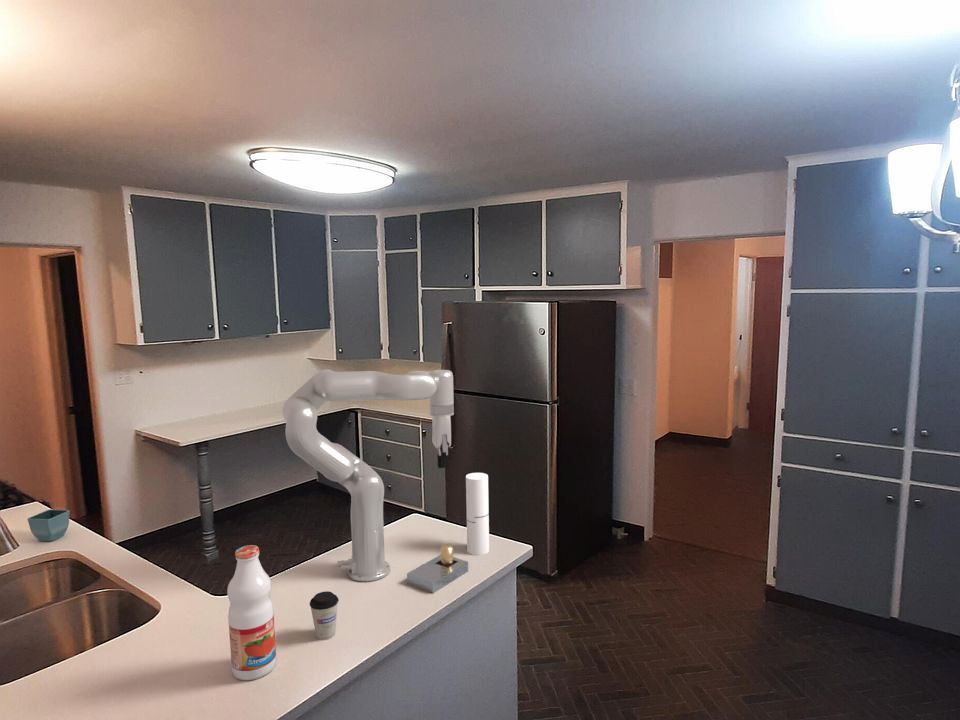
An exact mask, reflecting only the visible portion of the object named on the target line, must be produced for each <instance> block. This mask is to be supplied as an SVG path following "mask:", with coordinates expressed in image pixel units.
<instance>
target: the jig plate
mask: <svg viewBox="0 0 960 720" xmlns="http://www.w3.org/2000/svg"><path fill="white" fill-rule="evenodd" d="M468 572H469V562H468V561H467V560H463V559H461V558H458V557H454V556H453V565H452V566H450V567H448V568H447V567H444V566H441V554H439V555H438V556H435V557H434V558H432V559H430V560H429V561H426V562H425V563H424V564H421V565H419V566H418V567H416V568H415V569H412V570H411V571H409V572H407V573H406V583H407V585H408V584H409V585H410V586H413V587H415V588H418V589H421V590H423V591H426V592H429V593H431V594H435V593H437V592H438V591H440V590H441V589H443V588H444V587H446V586H447V585H449V584H450V583H451V584H452V582H454V581H455V580H457V579H458V578H460V577H462V576H463V575H465V574H466V573H468Z"/></svg>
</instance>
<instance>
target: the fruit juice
mask: <svg viewBox="0 0 960 720" xmlns="http://www.w3.org/2000/svg"><path fill="white" fill-rule="evenodd" d="M259 555H260V549H259V546H257V545H253V544H250V545H248V544H247V545H244V546H241V547H239V548H237V549H236V550H235V553H234V556H235V560H236V561H237V562H236V567H235V571H234V575H233V577H232V578H231V579H230V581H229V583H228V585H227V590H226V591H227V599H228V600H229V604H230V605H229V607H228V616H227V617H228V620H227V621H228V631H229V633H228V634H229V645H230V648H229V649H230V662H231V671H232V674H233V676H234V677H235V678H236V679H238V680H241V681H253V680H259V679H261V678H264V677H265V676H267V675H268V674H269V673H271V672H272V671H273V669H275V667H276V664H277V648H276V646H277V645H276V633H275V632H276V630H275V629H276V628H275V614H274V611H275V610H274V604H273V600H272V598H271V597H270V596H271V591H272V580H271V578H270V576H269V574H267V573H266V571H265V569H264V568H263V567H262V564H261V562H260V560H259Z"/></svg>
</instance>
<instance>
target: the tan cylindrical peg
mask: <svg viewBox="0 0 960 720" xmlns="http://www.w3.org/2000/svg"><path fill="white" fill-rule="evenodd" d="M440 555H441V566H444V567H447V568H448V567H450V566H452V565H453V557H454V545H453V544H451V543H444V544H441V545H440Z"/></svg>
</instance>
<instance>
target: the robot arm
mask: <svg viewBox="0 0 960 720" xmlns="http://www.w3.org/2000/svg"><path fill="white" fill-rule="evenodd" d="M427 399H428V400H429V415H430V416H431V417H432V421H431V422H432V425H431V427H432V429H431V432H432V434H431V436H432V437H431V440H432V441H431V442H432V444H433V446H434V447H435V448H436V449H437V456H436V457H437V468H439V469H444V468H445V469H446V468H449V448H450V447H451V446H452V421H451V416H454V414H455V407H454V406H455V405H454V403H455V401H454V400H455V399H454V375H453V372H452V370H449V369H435V370H428V371H427V370H411V371H408V372H407V373H406V374H393V373H392V374H391V373H385V372H382V371H375V370H363V371H361V370H358V371H334V370H332V369H328V368H327V369H326V368H325V369H321V370H319V371H318V372H316V373H315V374H313V376H311V377H310V378H309V379H308V380H307V381H306V382H305V383H304V384H303V385H302V386H301V387H299V388H298V389H297V390H295V392H294V393H293V394H291V396H289V397H288V398H287V399H286V400H285V402H284V404H283V406H282V410H281V412H282V417H283V419H284V420H285V438H286V442H287V445H288V447H289V448H290V450H291V451H292V452H293V453H294V454H295V455H296V456H297V457H299V458H300V459H302V460H303V461H304V462H306V463H307V464H308V466H309V465H310V467H312V468H314V469H315V470H316V471H318V472H319V473H320V474H322V475H323V476H324V477H325V478H326V479H328V480H329V481H332V482H335V483H336V482H337V483H338V484H340V485H341V486H343V487H344V488H345V489H347V491H348V492H349V494H350V496H351V498H350V501H351V502H350V528H351V529H350V530H351V549H352V550H351V557H350V558H348V559H345V560H337V561H336V564H337V568H340V570H341V571H345V570H347V575H348V577H349V578H350V579H352V580H353V581H357V582H373V581H378V580H380V579H382V578H384V577H386V576H387V575H388V574H390V572H391V565H390V563H389V562H387V561H386V559H385V558H386V557H385V534H384V533H385V530H384V526H385V525H384V499H385V498H384V497H385V485H384V482H383V480H382V478H381V476H380V475H379V474H378V472H376V471H375V470H374V469H373V468H372V467H371V466H370V465H368V463H367V462H365V461H363V460H362V459H361V458H359V457H358V456H357V455H355V454H354V453H353V452H351V451H350V450H349V449H347V448H346V447H344V446H343V445H341V444H340V443H336V442H331V440H329V439H328V438H327V437H325V436H324V435H322V434H321V433H320V432H319V431H318V429H317V421H318V412H317V411H318V410H319V409H320V408H321V407H323V405H324V404H326V403H327V402H333V403H334V402H351V401H353V402H354V401H421V400H422V401H423V400H427Z"/></svg>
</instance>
